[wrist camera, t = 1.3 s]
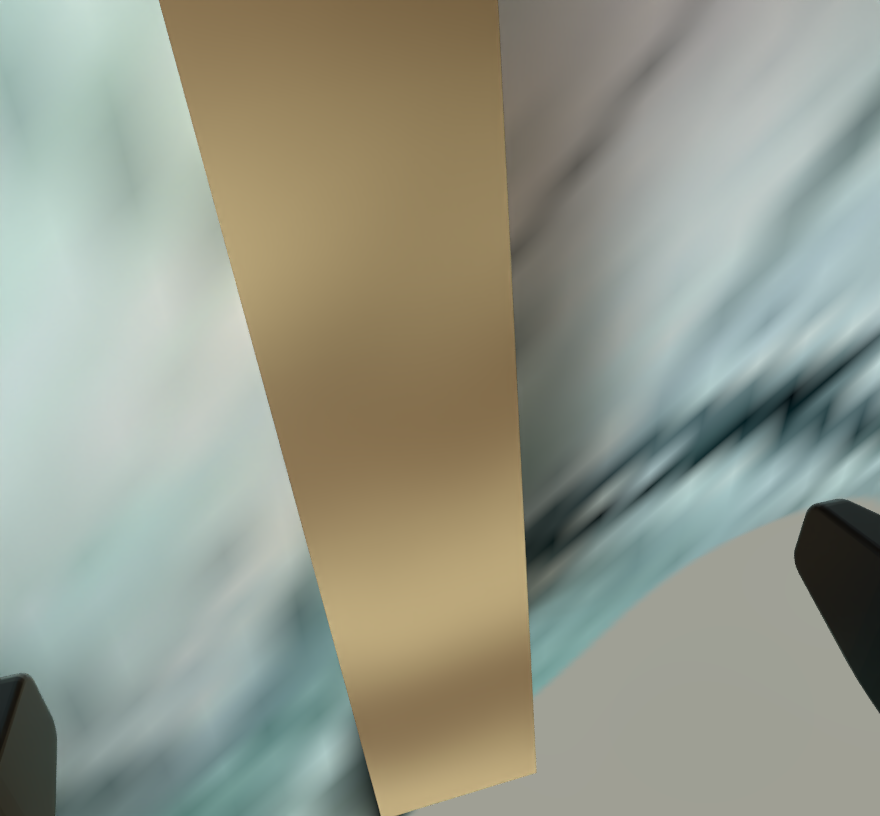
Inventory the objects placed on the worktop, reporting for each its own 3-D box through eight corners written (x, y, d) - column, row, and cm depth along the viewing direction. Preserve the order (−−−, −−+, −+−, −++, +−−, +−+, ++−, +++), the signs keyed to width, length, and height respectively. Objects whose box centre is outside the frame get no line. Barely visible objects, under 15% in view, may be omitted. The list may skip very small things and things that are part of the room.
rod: (483, 633, 21) (536, 773, 18) (352, 669, 20) (381, 819, 17) (371, -477, 9) (464, -650, 6) (59, -458, 9) (-15, -637, 6)
